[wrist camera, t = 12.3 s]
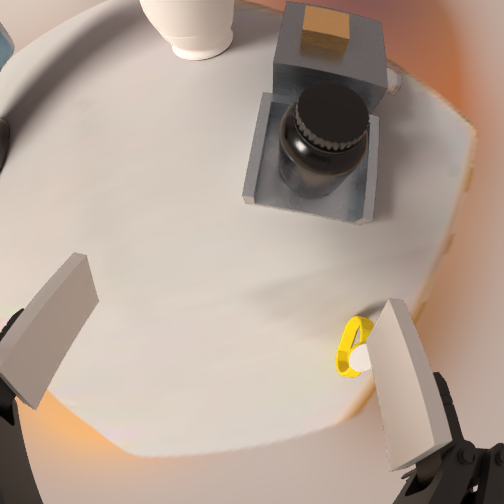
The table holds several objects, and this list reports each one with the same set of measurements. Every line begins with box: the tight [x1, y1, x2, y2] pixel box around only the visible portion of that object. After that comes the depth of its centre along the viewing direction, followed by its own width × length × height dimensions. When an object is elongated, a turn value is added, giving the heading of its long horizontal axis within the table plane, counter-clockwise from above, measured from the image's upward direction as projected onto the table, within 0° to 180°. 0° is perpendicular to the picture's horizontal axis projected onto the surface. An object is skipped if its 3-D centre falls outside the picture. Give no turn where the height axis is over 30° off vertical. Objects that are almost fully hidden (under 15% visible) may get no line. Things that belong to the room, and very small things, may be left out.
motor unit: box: [242, 1, 402, 225], centre depth 22 cm, size 14×21×11 cm, turn 170°
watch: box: [336, 315, 373, 378], centre depth 25 cm, size 6×3×6 cm, turn 164°
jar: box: [140, 0, 235, 60], centre depth 21 cm, size 11×10×15 cm
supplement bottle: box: [278, 81, 370, 197], centre depth 21 cm, size 7×7×12 cm
